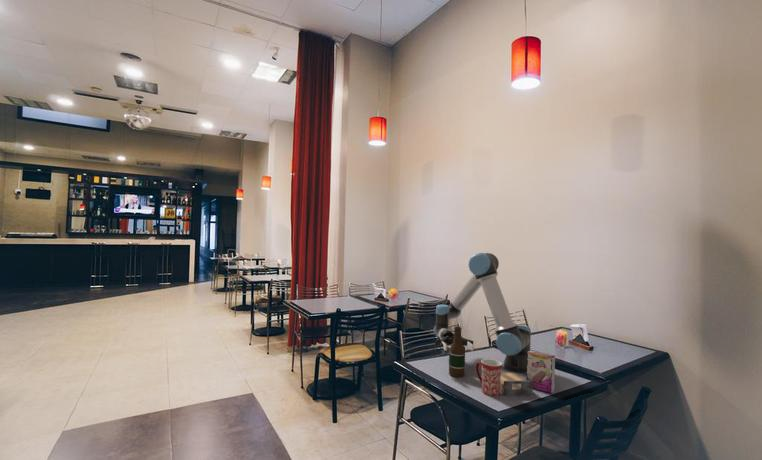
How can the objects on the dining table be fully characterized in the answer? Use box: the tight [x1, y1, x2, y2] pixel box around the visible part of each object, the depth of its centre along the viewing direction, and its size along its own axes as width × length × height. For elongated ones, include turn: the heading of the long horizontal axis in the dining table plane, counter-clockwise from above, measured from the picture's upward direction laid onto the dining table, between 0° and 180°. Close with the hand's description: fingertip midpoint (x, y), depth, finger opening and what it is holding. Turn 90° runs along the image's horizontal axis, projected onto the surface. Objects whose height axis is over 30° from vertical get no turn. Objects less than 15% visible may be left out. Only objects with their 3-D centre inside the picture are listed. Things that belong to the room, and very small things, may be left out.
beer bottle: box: [448, 325, 466, 378], centre depth 178 cm, size 8×8×24 cm
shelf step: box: [499, 372, 533, 396], centre depth 163 cm, size 13×16×6 cm
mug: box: [475, 358, 503, 397], centre depth 158 cm, size 13×9×14 cm
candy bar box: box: [526, 349, 556, 395], centre depth 163 cm, size 11×5×16 cm, turn 49°
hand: (459, 347), depth 175 cm, fingers open, 13 cm apart
